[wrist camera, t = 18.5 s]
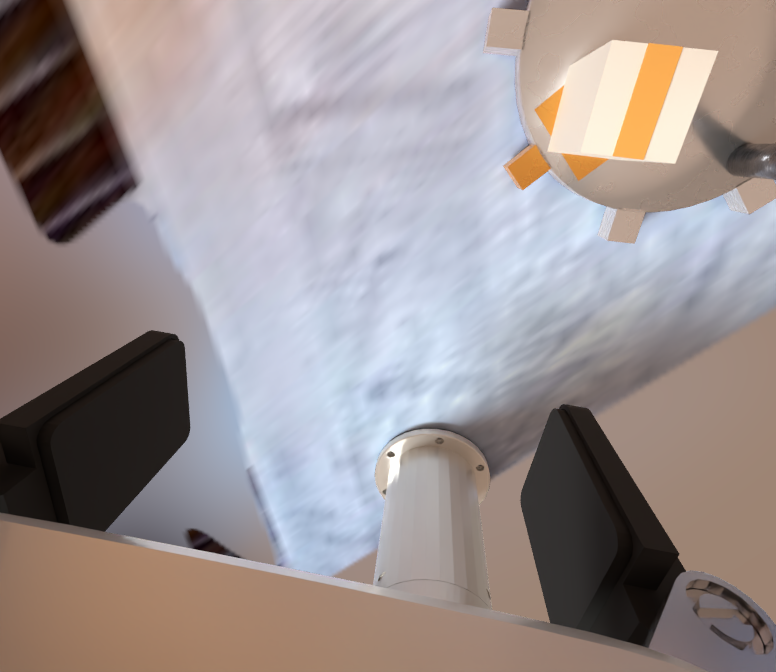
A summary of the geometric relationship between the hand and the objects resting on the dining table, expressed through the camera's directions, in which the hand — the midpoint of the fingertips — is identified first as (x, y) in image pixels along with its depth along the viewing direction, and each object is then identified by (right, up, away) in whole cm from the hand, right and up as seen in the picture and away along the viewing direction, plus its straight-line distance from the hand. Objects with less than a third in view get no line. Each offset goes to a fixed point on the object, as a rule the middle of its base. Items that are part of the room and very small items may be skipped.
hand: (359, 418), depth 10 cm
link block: (+15, +17, +17) cm, 28 cm away
